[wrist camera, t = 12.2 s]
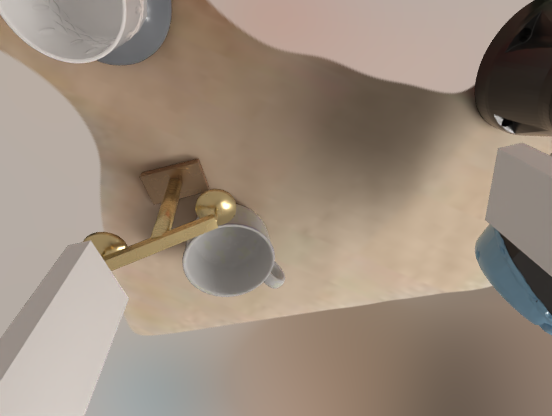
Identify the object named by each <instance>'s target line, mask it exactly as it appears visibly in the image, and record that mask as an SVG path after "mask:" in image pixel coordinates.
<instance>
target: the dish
mask: <svg viewBox="0 0 552 416" xmlns="http://www.w3.org/2000/svg"><path fill="white" fill-rule="evenodd" d="M171 17H172V1H171V0H147V18H146V19H145V21H144V23H143V25H142V27H141V29H140V30H139V32H138V33H136V34H135V35H134V36H133V37H132V38H131V39H130V40H128V41H127V42H126V43H125V44H123V45H121V46H120V47H118V48H117V49H115V50H114V51H112V52H110V53H109V54H107V55H106V56H104V57H102V58H100V59H98V60H97V61H100V62H102V63H106V64H111V65H130V64H135V63H138V62H141V61H143V60H145V59H147V58H148V57H150V56H151V55H152V54H154V53H155V52H156V51H157V50H158V49H159V48H160V46H161V45H162V44H163V42H164V40H165V38H166V36H167V34H168V31H169V28H170V24H171Z"/></svg>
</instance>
